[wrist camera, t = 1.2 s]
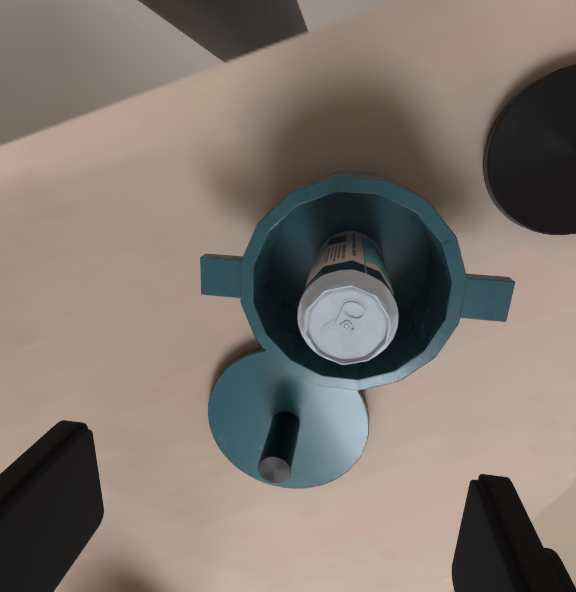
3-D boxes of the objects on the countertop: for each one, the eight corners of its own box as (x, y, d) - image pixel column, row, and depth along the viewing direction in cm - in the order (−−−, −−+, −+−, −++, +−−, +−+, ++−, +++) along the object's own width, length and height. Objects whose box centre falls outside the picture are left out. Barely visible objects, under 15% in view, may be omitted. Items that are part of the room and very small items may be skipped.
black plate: (500, 64, 25) (506, 60, 24) (682, 66, 24) (695, 63, 23) (469, 227, 28) (474, 229, 28) (628, 237, 27) (638, 240, 26)
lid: (210, 335, 34) (178, 375, 28) (377, 352, 32) (382, 399, 26) (213, 467, 39) (186, 527, 32) (360, 488, 37) (361, 557, 31)
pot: (231, 166, 30) (192, 169, 23) (495, 178, 27) (544, 186, 20) (231, 327, 34) (199, 372, 27) (461, 350, 31) (492, 406, 24)
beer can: (306, 278, 31) (279, 349, 20) (331, 219, 29) (318, 259, 18) (365, 303, 31) (372, 388, 20) (394, 245, 29) (420, 301, 18)
